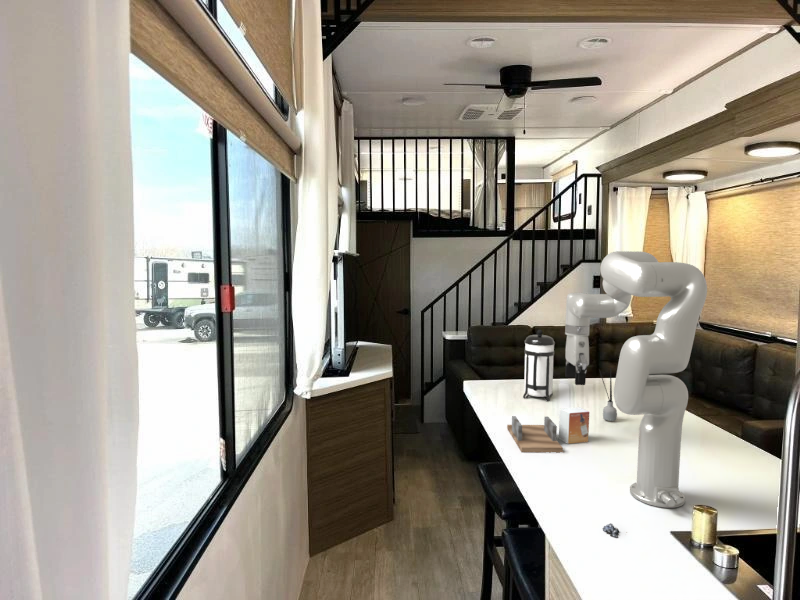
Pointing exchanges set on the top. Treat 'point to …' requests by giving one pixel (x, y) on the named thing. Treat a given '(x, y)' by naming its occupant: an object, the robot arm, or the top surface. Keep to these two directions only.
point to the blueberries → (611, 530)
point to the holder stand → (535, 436)
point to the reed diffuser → (609, 405)
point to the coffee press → (539, 366)
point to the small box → (574, 425)
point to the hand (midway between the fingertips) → (574, 380)
